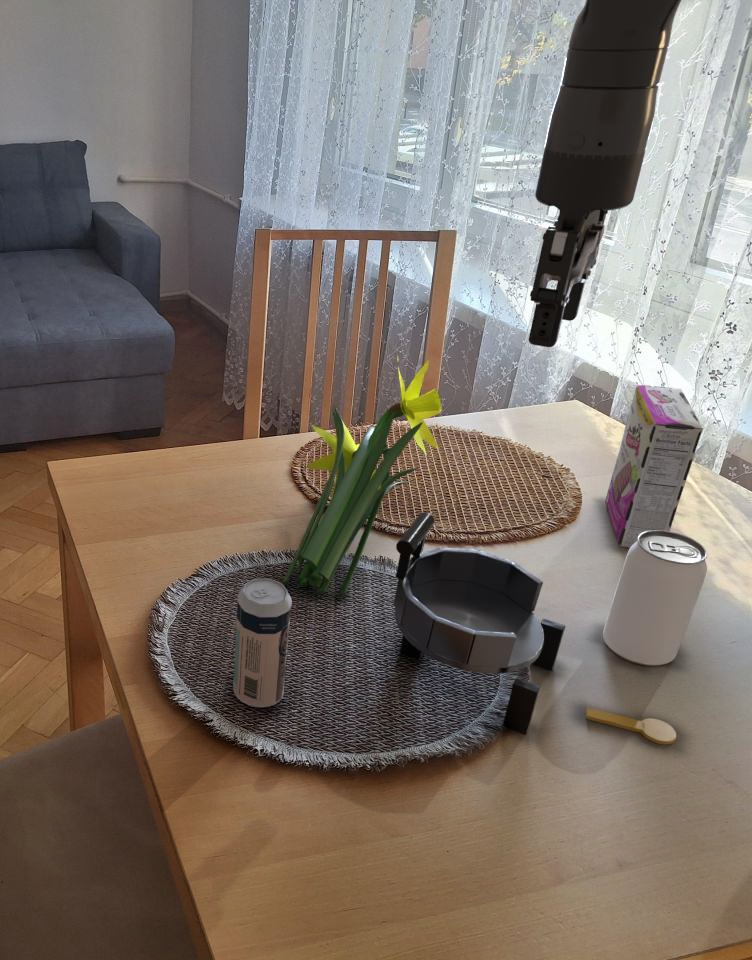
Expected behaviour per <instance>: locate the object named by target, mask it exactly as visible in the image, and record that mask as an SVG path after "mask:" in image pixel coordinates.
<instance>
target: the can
mask: <svg viewBox="0 0 752 960" xmlns="http://www.w3.org/2000/svg"><path fill="white" fill-rule="evenodd" d="M707 557H708V552H707V549H706V548H705V547H704V546H703V545H702V544H701V542H699V541H697V540H695V539H694V538H692V537H689V536H687V535H684V534H682V533H678V532H673V531H671V530H670V531H663V530H651V531H646V532H643V533H641V534H640V535H639V536H638V538H637V542H635V543H634V544H633V545H632V546H631V547H630V549H628V551H627V554H626V557H625V559H624V563H623V565H622V569H621V573H620V575H619V580H618V582H617V585H616V589H615V592H614V595H613V598H612V602H611V604H610V608H609V611H608V614H607V617H606V621H605V624H604V628H603V632H602V638H603V641H604V643H605V644H606V646H607V648H608V649H609V650H610V651H611V652H612V653H614V654H615V655H617V656H618V657H619V658H622V659H624V660H625V661H627V662H631V663H633V664H637V665H640V666H647V667H657V666H663V665H666V664H669V663H671V662H672V661H674V660H675V659H676V658H677V654H678V652H679V650H680V648H681V645H682V642H683V639H684V636H685V634H686V631H687V628H688V625H689V623H690V621H691V618H692V615H693V612H694V609H695V607H696V605H697V602H698V599H699V595H700V593H701V590H702V587H703V584H704V582H705V580H706V579H705V578H706V576H707V572H708V565H707V561H706V559H707Z"/></svg>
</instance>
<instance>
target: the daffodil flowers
mask: <svg viewBox="0 0 752 960" xmlns="http://www.w3.org/2000/svg"><path fill="white" fill-rule="evenodd" d="M396 359H397V361H399V355H396ZM429 365H430V359H428V360H427V361H425V363H424V364H423V366H422V367H421V368H420V369H419V371H418V372H417V373H416V374H415V376H414V377H413V378H412V381H411V383H410V384H409V385H408V387H407V388H406V385H405V382H404V379H403V377H402V374H401V371H400V368H399V366H397V370H398V378H399V387H400V402H399V401H398V402H395V403H394V404H392V405H391V406H390V407H389V408H388V409H387V410H385V412H384V413H383V414H382V415H381V416H380V418H379V419H378V421H377V423H376V425H375V426H370V427H369V428H368V429H367V430H366V431H365V433H364V435H363V437H362V439H361V441H360V443H357V444H356V442H355V441H354V439H353V437H352V435H351V433H350V430H349V429H348V427H347V426H346V424H345V422H344V421H343V419H342V417H341V414H340V413H339V411H338V409H337V408H336V406H335V405H333V408H332V409H331V410H332V417H333V422H334V427H335V435H336V436H335V435H334V434H332V433H330V432H329V431H326V430H324V429H322V428H320V427H318V426H316V425H314V424H311V428H312V429H313V431H314V432H316V433H317V434H318V435H319V436H320V437H321V438H322V439H323V440H324V442H325V443H326V444H327V445H328V446H329V447H330V449H331V450H332V451H333V452H331V453H329V454H326V455H323V456H322V457H320V458H317V459H315V460H314V461H311V462H310V463H308V464H307V465H306V468H308V469H311V470H317V471H318V470H320V471H327V472H331V473H330V474H329V477H328V479H327V481H326V483H325V486H324V488H323V489H322V492H321V494H320V497H319V499H318V502H317V504H316V506H315V508H314V511H313V512H312V515H311V517H310V520H309V522H308V525H307V527H306V529H305V531H304V534H303V536H302V538H301V541H300V543H299V545H298V547H297V550H296V552H295V554H294V556H293V559H292V561H291V562H290V565H289V567H288V569H287V571H286V573H285V575H284V577H283V579H282V581H281V583H282V585H283V586H284V587H285V586H286V585H287V584H288V582H289V580H290V578H291V575H292V573H293V572H294V573H295V574H296V573H298V572H299V571H300V568H301V567H302V565H303V564H304V562H305V564H304V565H303V568H302V570H301V572H300V573H299V576H298V578H297V582H298V587H308V586H312V587H314V588H316V591H315V593H314V594H315V595H323V594H325V593H326V591H327V589H328V587H329V585H330V583H331V582H332V580H333V578H334V577H335V574H336V572H337V570H338V568H339V566H340V564H341V562H342V560H343V558H344V557H345V555H346V553H347V552H348V551H349V548H350V547H351V544H353V542H354V540H355V538H356V536H357V535H358V534H359V532H360V530H361V529H362V527H363V526H364V524H365V523H366V524H365V527H364V529H363V532H362V534H361V536H360V538H359V539H360V540H359V542H358V545H357V547H356V550H355V552H354V556H353V558H352V561H351V563H350V565H349V568H348V569H347V573H346V574H345V578H344V579H343V581H342V584H341V587H340V589H339V591H338V593H337V597H338V598H340V597H344V596H345V595H346V593H347V592H348V589H349V586H350V583H351V581H352V579H353V576H354V574H355V571H356V569H357V566H358V565H359V562H360V560H361V556H362V554H363V552H364V548H365V546H366V543H367V541H368V538H369V536H370V533H371V530H372V527H373V525H374V523H375V519H376V517H377V515H378V512H379V510H380V506H381V505H382V502H383V499H384V497H385V495H387V493H388V492H389V491H390V490H391V489H392V488H394V487H396V486H399V485H404V484H407V483H408V481H397V480H398V479H401V478H402V477H404V476H406V475H408V474H410V473H412V472H414V471H416V470H417V469H418V467H414V468H409V469H405V470H402V471H399V472H397V473H395V474H393V475H391V476H390V471H391V469H392V467H393V466H394V464H395V463H396V461H397V460H398V458H399V457H400V456H401V454H402V453H403V451H404V450H405V448H406V447H407V446H408V444H409V443H410V441H412V439H413V438H414V441H415V442H416V444H417V446H418V447H419V448H420V449H421V450H422V451H423V452H424V453H423V454H425V456H426V457H428V453H427V449H426V447H425V445H424V442H425V443H426V444H428V445H429V446H431V447H433V448H435V449H437V450H439V449H440V448H439V445H438V444H437V443H438V442H437V441H436V439H435V438H434V436H433V434H432V432H431V430H430V429H429V428H428V425H427V424H426V422H425V420H424V419H429V418H431V417H434V416H436V415H439V414H440V413H441V412H442V411H443V409H442V408H443V406H442V404H443V402H442V401H441V400H442V398H440V396H441V394H438V393H439V390H438V388H436V387H435V388H433V389H432V390H430V391H427V392H426V393H424V394H422V395H420V394H421V389H422V387H423V386H422V385H423V381H424V378H425V375H426V372H427V371H428V368H429ZM437 390H438V391H437ZM403 416H404V417H405V419H406V420H407V422H408V423H409V426H410V429H409V430H408V431H407V432H406V433H404V434H403V435H402V436H401V437H399V438H398V440H397V441H396V442H395V443H394V444H393V445H392V446H391V447H388V445H387V440H388V437H389V435H390V431H391V428H392V424H393V421H394V420H395V419H396V418H397V419H398V418H400V417H403ZM423 441H424V442H423ZM381 456H382V460H381V462H380V461H379V460H380V459H381ZM379 462H380V463H379ZM378 463H379V465H378ZM377 465H378V467H377ZM396 481H397V482H396ZM330 495H331V498H330ZM329 498H330V502H329V503H328V501H329ZM327 503H328V505H327ZM326 506H327V508H326ZM324 511H325V512H324Z"/></svg>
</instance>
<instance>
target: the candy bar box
mask: <svg viewBox="0 0 752 960" xmlns="http://www.w3.org/2000/svg"><path fill="white" fill-rule="evenodd" d="M703 431H704V428H703V426H702V424H701V422H700V421H699V418H698V416H697V415H696V413H695V411H694V410H693V407H692V405H690V402H689V401H688V398H687V397H686V395H685V393H684V391H683V389H682V388H679V387H678V388H677V387H665V386H658V385H657V386H656V385H654V386H651V385H649V384H648V385H647V384H642V385H636V387H635V390H634V395H633V398H632V402H631V405H630V409H629V412H628V416H627V420H626V423H625V427H624V430H623V434H622V438H621V442H620V445H619V449H618V453H617V457H616V461H615V464H614V468H613V472H612V475H611V479H610V482H609V486H608V490H607V493H606V496H605V500H604V503H605V506H606V509H607V512H608V516H609V519H610V522H611V525H612V528H613V532H614V536H615V539H616V542H617V546H618V547H619V548H623V549H628V550H629V549H630V547H631V546H632V545H633V544H634V543H635V542H637V538H638V536H639V535H640V534H641V533H643V532H646V531H651V530H663V531H670V532H671V528H672V525H673V522H674V519H675V516H676V514H677V513H676V512H677V509H678V507H679V503H680V501H681V498H682V495H683V491H684V489H685V485H686V482H687V479H688V476H689V473H690V470H691V468H692V464H693V460H694V458H695V455H696V451H697V448H698V445H699V442H700V438H701V435H702V433H703Z"/></svg>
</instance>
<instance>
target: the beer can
mask: <svg viewBox="0 0 752 960" xmlns="http://www.w3.org/2000/svg"><path fill="white" fill-rule="evenodd" d="M236 600H237V601H236V622H235V623H236V624H235V641H234V643H235V644H234V661H233V662H234V663H233V681H232V682H233V685H232V691H233V693H234V696H235V697H236V698H237V699H238V700H239V701H241V703H244V704H246V705H248V706H250V707H253V708H269V707H272V706H274V705H277V704H278V703H279V702H281V700H282V699H283V697H284V694H285V683H286V681H285V680H286V672H287V671H286V669H287V657H288V647H289V646H288V645H289V634H290V626H291V625H290V623H291V614H292V613H291V612H292V611H291V610H292V605H293V601H292V600H293V599H292V597H291V596H290V594H289V592H288V589H287V588H286V587H285V586H283V585H282V582H279V581H277V580H274V579H272V578H254V579H252V580H250V581H248V582H246V583H245V584H244V586H243V587H242V588H241V590H240V591H239V592H238V595H237V599H236Z"/></svg>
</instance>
